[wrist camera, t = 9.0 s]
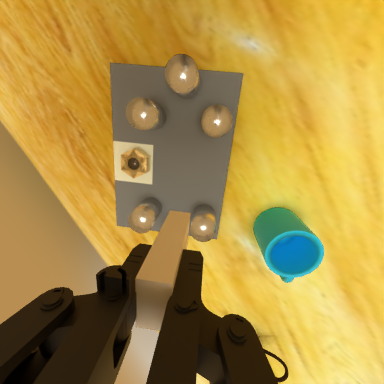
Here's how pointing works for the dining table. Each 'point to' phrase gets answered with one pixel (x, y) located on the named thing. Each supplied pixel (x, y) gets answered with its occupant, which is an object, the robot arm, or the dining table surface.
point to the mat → (172, 142)
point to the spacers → (155, 118)
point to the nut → (135, 162)
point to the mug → (287, 244)
